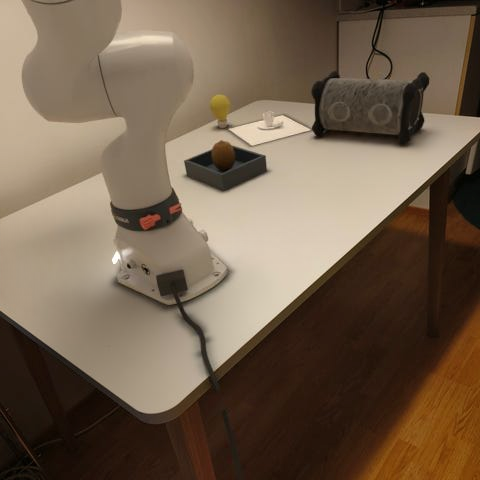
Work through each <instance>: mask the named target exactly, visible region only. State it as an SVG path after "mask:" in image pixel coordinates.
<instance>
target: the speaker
mask: <svg viewBox="0 0 480 480" xmlns="http://www.w3.org/2000/svg"><path fill="white" fill-rule="evenodd" d="M429 85H430V77H429V75H428V74H427V73H426V72H424V71H421V72H420V73H419V74H418V75H417V77H416V78H415V79H387V78H384V79H382V78H341V76H340V74H339V71H338V70H333V71H332V72H330V73H329V74H328V76H326V77H324V78H323V79H322V80H317V81H316V82H314V84H313V85H312V87H311V93H310V94H311V96H312V98H313V100H314V122H313V124H312V126H311V131H312V132H313V134H314V135H315V137H317V138H320V137H322V136H323V135H324V133H325V131H327V130H334V131H340V132H342V131H344V132H345V131H346V132H356V133H358V132H359V133H367V134H368V133H370V134H381V135H390V136H391V135H393V136H397V139H398V141H399V145H405V144H408V143H409V142H410V141H411V140H412V138H411V137H412V136H413V134H414V133H415V132H418V131H420V130H421V129H422V128H423V126H424V124H425V117H424V114H423V112H422V109H423V103H424V92H425V91H426V89H427V88H428V87H429Z"/></svg>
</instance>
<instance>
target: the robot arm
mask: <svg viewBox="0 0 480 480" xmlns="http://www.w3.org/2000/svg"><path fill="white" fill-rule="evenodd" d="M21 2H22V4H23V6H24V7H25V9H26V12H27V14H28V15H29V17H30V19H31V22H32V23H33V26H34V27H35V30H36V33H37V40H36V43H35V45H34V46H33V48H32V50H31V51H30V52H29V53H27V54H26V56H25V59H24V61H23V64H22V68H21V85H22V89H23V92H24V95H25V97H26V99H27V101H28V104H29V105H30V106H31V107H32V108H33V110H34V111H35V112H36V113H37V114H38V115H39V116H40V117H42V118H43V119H44V120H46V121H47V122H51V123H66V124H81V123H82V124H83V123H88V122H94V121H95V122H96V121H99V120H100V121H102V120H108V119H114V118H123V119H124V121H125V127H126V128H125V130H124V131H123V132H122V133H120V134H119V135H117V137H116V138H114V139H113V140H112V141H110V143H108V144H107V145H106V146H105V148H104V149H103V150H102V152H101V155H100V159H99V167H100V170H101V174H102V177H103V180H104V183H105V186H106V189H107V193H108V195H109V199H110V201H109V206H110V211H111V215H112V217H113V219H114V222H115V224H116V225H117V226H116V227H117V228H116V233H115V235H114V238H113V243H114V247H115V250H116V252H115V254H114V256H113V258H112V263H113V264H116V263H117V262H119V266H120V269H121V270H120V271H119V272H118V274H117V276H116V278H117V282H118V283H119V284H121V285H123V286H125V287H127V288H129V289H132V290H133V291H136V292H137V293H138V292H139V293H140V294H142V295H145V296H147V297H149V298H151V299H153V300H155V301H157V302H159V303H162V304H164V305H166V306H172V305H177V307H178V310H179V312H180V314H181V316H182V317H183V319H184V320H185V322H187V324H189V326H191V327H192V328H194V329H195V330H196V332H197V333H198V335H199V339H200V351H201V356H202V359H203V362H204V365H205V367H206V371H207V372H208V374H209V377H210V380H211V382H212V385H213V389H214V391H215V394H216V395H220V394H222V391H221V387H220V384H219V381H218V379H217V376H216V374H215V371H214V369H213V367H212V364H211V362H210V360H209V359H210V358H209V356H208V352H207V341H206V336H205V333H204V331H203V329H202V328H201V326H200V325H198V323H196V322H195V321H194V320H193V319H192V318H190V317H189V315H188V313H187V312H186V310H185V308H184V306H183V304H182V303H184V302H186V301H187V302H188V301H189V300H192V299H194V298H197V297H198V296H200V295H202V294H204V293H206V292H208V291H209V290H211V289H212V288H214V287H216V286H217V285H218V284H219V283H221V281H223V280H224V278H225V277H226V276H227V274H228V268H227V266H226V265H225V264H224V263H223V262H222V261H221V260H220V259H219V258H218V257H217V256H216V255H215V254H214V253H213V252H211V249H210V247H209V245H208V241H209V236H208V233H207V231H206V230H205V229H202V230H199V231H198V230H197V228H196V227H195V226H194V220H193V219H192V218H188V217H187V216H186V214H184V212H183V207H182V203H181V202H180V199H179V196H178V195H177V192H176V190H175V189H174V188H173V186H172V184H171V179H170V174H169V167H168V161H167V154H166V142H167V141H166V140H167V135H168V131H169V127H170V125H171V122H172V120H173V118H174V116H175V114H176V113H177V112H178V109H179V108H180V107H181V106H182V105H183V104H184V102H186V100H187V98H188V97H189V95H190V93H191V91H192V88H193V83H194V76H195V71H194V70H195V69H194V62H193V59H192V56H191V53H190V51H189V48H187V45H186V44H185V42H183V40H182V39H181V38H180V37H179V36H178V35H177V34H176V33H175V32H173V31H165V30H156V29H155V30H154V29H139V30H132V31H125V32H120V33H118V29H119V27H120V25H121V24H120V23H121V20H122V12H123V7H122V0H21ZM221 416H222V419H223V422H224V427H225V430H226V434H227V438H228V442H229V446H230V450H231V454H232V459H233V462H234V467H235V471H236V475H237V479H238V480H244V477H243V473H242V468H241V464H240V460H239V456H238V451H237V447H236V444H235V439H234V435H233V431H232V427H231V423H230V420H229V415H228V411H227V408H224V409H223V410H222V411H221Z"/></svg>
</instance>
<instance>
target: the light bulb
mask: <svg viewBox="0 0 480 480" xmlns="http://www.w3.org/2000/svg"><path fill="white" fill-rule="evenodd" d="M209 108H210V111H211V113H212V114H213V115H214V117H215V118H216V119H217V121H216V122H217V125H218V126H219V129H225V128H227V126H228V125H227V124H228V119H227V116H228V115H229V114H230V113H229V112H230V109H231V102H230V99H229V98H228V97H227V96H226V95H224V94H216V95H214V96H213V97H212V98H211V100H210V102H209Z"/></svg>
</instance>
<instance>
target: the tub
mask: <svg viewBox="0 0 480 480" xmlns="http://www.w3.org/2000/svg"><path fill="white" fill-rule="evenodd" d="M231 145H232V147H233V149H234V152H235V162H234V165H233V167H232V168H231V169H229V170H228V171H221V170H219V169H217V168H216V167H215V165H214V163H213V161H212V155H211V153H212V149H209V150H206V151H204V152H201V153H199V154H197V155H194V156H192V157H189V158H187V159H184V160H183V164H184V169H185V173H186V176H188V177H189V178H193V179H195V180H197V181H199V182H202V183H205V184H206V185H209V186H212V187H214V188H216V189H219V190H221V191H226V190H229V189H231V188H233V187H235V186H238V185H239V184H242V183H244V182H246V181H248V180H250V179H253V178H255V177H257V176H259V175H261V174H263V173H266V172H267V171H268V166H267V155H265V154H261V153H258V152H255V151H252V150H248V149H246V148H242V147H239V146H235V145H233V144H231Z"/></svg>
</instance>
